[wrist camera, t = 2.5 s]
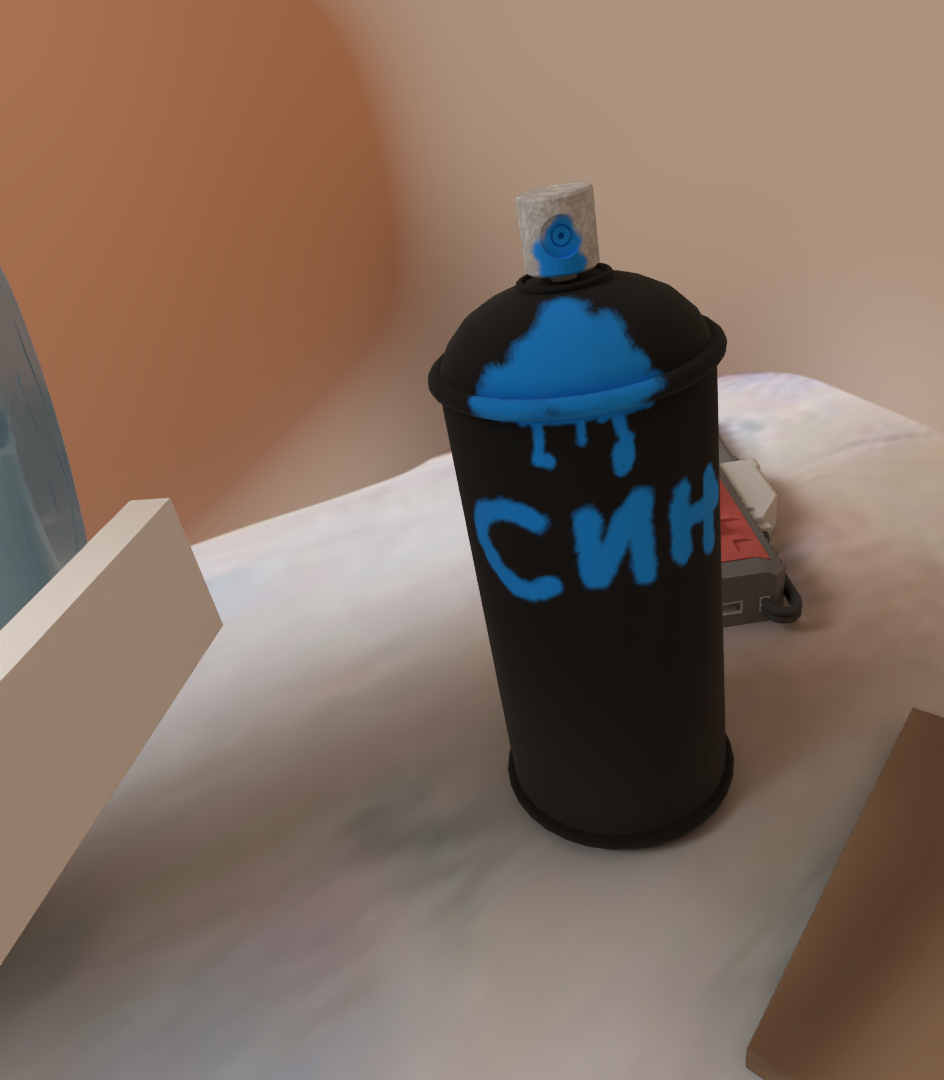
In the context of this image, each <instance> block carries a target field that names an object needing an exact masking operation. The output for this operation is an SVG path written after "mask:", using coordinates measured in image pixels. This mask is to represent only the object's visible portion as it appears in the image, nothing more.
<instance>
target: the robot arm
mask: <svg viewBox="0 0 944 1080" xmlns="http://www.w3.org/2000/svg"><path fill="white" fill-rule="evenodd" d="M222 626H223V624H222V621H221V619H220V616H219V614H218V612H217V609H216V607H215V605H214V602H213V600H212V597H211V595H210V593H209V590H208V588H207V585H206V583H205V581H204V578H203V576H202V573H201V571H200V569H199V566H198V564H197V561H196V559H195V557H194V554H193V552H192V550H191V547H190V545H189V542H188V540H187V538H186V535H185V533H184V530H183V528H182V526H181V523H180V521H179V518H178V516H177V514H176V511H175V509H174V506H173V504H172V502H171V499H170V498H162V499H148V500H133V501H129V502H128V503H127V504H126V506H124V508H122V509H121V510H120V511H119V512H118V513H117V514H116V516H114V517H113V518H112V519H111V520H110V522H108V523H107V524H106V525H105V526H104V527H103V528H102V529H101V530H100V531H99V532H98V533H97V534H96V535H95V536H94V537H93V539H91V540H90V542H88V543H87V538H86V533H85V528H84V523H83V519H82V514H81V510H80V506H79V501H78V497H77V493H76V489H75V485H74V481H73V476H72V472H71V468H70V464H69V460H68V456H67V453H66V449H65V445H64V442H63V438H62V435H61V431H60V427H59V424H58V421H57V417H56V414H55V410H54V407H53V404H52V400H51V397H50V394H49V391H48V388H47V385H46V381H45V378H44V375H43V372H42V369H41V366H40V363H39V360H38V357H37V354H36V352H35V349H34V346H33V343H32V340H31V338H30V335H29V332H28V330H27V327H26V324H25V321H24V319H23V316H22V314H21V311H20V309H19V306H18V304H17V301H16V299H15V297H14V294H13V292H12V290H11V288H10V285H9V283H8V281H7V278H6V276H5V275H4V273H3V271H2V269H1V268H0V965H1V964H2V962H3V961H4V959H5V958H6V956H7V955H8V953H9V952H10V950H11V949H12V947H13V946H14V944H15V943H16V941H17V939H18V938H19V936H20V935H21V933H22V932H23V930H24V929H25V927H26V926H27V924H28V923H29V921H30V920H31V918H32V917H33V915H34V913H35V912H36V910H37V909H38V907H39V906H40V904H41V903H42V901H43V900H44V898H45V897H46V895H47V894H48V892H49V891H50V889H51V887H52V886H53V884H54V883H55V881H56V880H57V878H58V877H59V875H60V874H61V872H62V871H63V869H64V868H65V866H66V865H67V863H68V861H69V860H70V858H71V857H72V855H73V854H74V852H75V851H76V849H77V848H78V846H79V845H80V843H81V842H82V840H83V839H84V837H85V835H86V834H87V832H88V831H89V829H90V828H91V826H92V825H93V823H94V822H95V820H96V819H97V817H98V816H99V814H100V813H101V811H102V809H103V808H104V806H105V805H106V803H107V802H108V800H109V799H110V797H111V796H112V794H113V793H114V791H115V790H116V788H117V787H118V785H119V783H120V782H121V780H122V779H123V777H124V776H125V774H126V773H127V771H128V770H129V768H130V767H131V765H132V764H133V762H134V761H135V759H136V757H137V756H138V754H139V753H140V751H141V750H142V748H143V747H144V745H145V744H146V742H147V741H148V739H149V738H150V736H151V735H152V733H153V731H154V730H155V728H156V727H157V725H158V724H159V722H160V721H161V719H162V718H163V716H164V715H165V713H166V712H167V710H168V709H169V707H170V705H171V704H172V702H173V701H174V699H175V698H176V696H177V695H178V693H179V692H180V690H181V689H182V687H183V686H184V684H185V683H186V681H187V679H188V678H189V676H190V675H191V673H192V672H193V670H194V669H195V667H196V666H197V664H198V663H199V661H200V660H201V658H202V656H203V655H204V653H205V652H206V650H207V649H208V647H209V646H210V644H211V643H212V641H213V640H214V638H215V637H216V635H217V634H218V632H219V630H220V629H221V627H222Z"/></svg>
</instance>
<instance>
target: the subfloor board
mask: <svg viewBox="0 0 944 1080" xmlns="http://www.w3.org/2000/svg"><path fill="white" fill-rule="evenodd" d="M746 1068H748V1069H749V1070H751V1071H752V1072H754V1073H755V1074H757V1075H758V1076H760V1077H762V1078H763V1079H765V1080H944V718H942V717H939V716H936V715H933V714H930V713H927V712H924V711H921V710H918V709H916V708H912V710H911V712H910V714H909V717H908V719H907V721H906V723H905V725H904V727H903V729H902V731H901V733H900V735H899V737H898V739H897V741H896V743H895V745H894V747H893V749H892V751H891V754H890V756H889V758H888V760H887V762H886V764H885V766H884V768H883V770H882V772H881V774H880V776H879V778H878V780H877V782H876V784H875V786H874V789H873V791H872V793H871V795H870V797H869V799H868V801H867V803H866V805H865V807H864V809H863V811H862V813H861V815H860V817H859V819H858V821H857V823H856V826H855V828H854V830H853V832H852V834H851V836H850V838H849V840H848V842H847V844H846V846H845V848H844V850H843V852H842V854H841V856H840V858H839V861H838V863H837V865H836V867H835V869H834V871H833V873H832V875H831V877H830V879H829V881H828V883H827V885H826V887H825V889H824V891H823V893H822V895H821V898H820V900H819V902H818V904H817V906H816V908H815V910H814V912H813V914H812V916H811V918H810V920H809V922H808V924H807V926H806V928H805V930H804V932H803V935H802V937H801V939H800V941H799V943H798V945H797V947H796V949H795V951H794V953H793V955H792V957H791V959H790V961H789V963H788V965H787V967H786V970H785V972H784V974H783V976H782V978H781V980H780V982H779V984H778V986H777V988H776V990H775V992H774V994H773V996H772V998H771V1000H770V1002H769V1004H768V1007H767V1009H766V1011H765V1013H764V1015H763V1017H762V1019H761V1021H760V1023H759V1025H758V1027H757V1029H756V1031H755V1033H754V1035H753V1037H752V1039H751V1042H750V1044H749V1046H748V1048H747V1056H746Z"/></svg>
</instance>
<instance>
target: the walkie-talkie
mask: <svg viewBox="0 0 944 1080" xmlns="http://www.w3.org/2000/svg"><path fill="white" fill-rule="evenodd" d="M719 473H720V518H721V562H722V606H723V627H728V626H735V625H741V624H748V623H754V622H761V621H767V620H772V621H773V622H777V623H792V622H795V621H797V619H798V618H799V617H800V616H801V613H802V611H801V608H802V600H801V596H800V595H799V593H798V592H797V590H796V589H795V587H794V585H793V584H792V582H791V581H790V579H789V578H788V576H787V574H786V573H785V571H786V567H785V566H783V565H782V561H781V559H779V558H778V557H777V553H776V552H774V551H773V547H772V546H771V535H772V531H773V530H774V528H775V526H776V522H777V505H778V495H777V494H776V492H775V491H774V489H773V488H772V487H771V485H770V484H769V482H768V481H767V480H766V478H765V477H764V475H763V474H762V473H761V471H760V466H759V464H758V463H757V461H756V460H755V459H753V458H752V459H746V460H738V458H736V457H735V456H732V454H731V453H730V452H729V450H728V449H727V447H726V446H725V444H724V443H723V441H722V440H721V438H720V437H719ZM784 595H785V597H786V599H787V600H788V602H789V604H790V605H791V607H783V600H784Z"/></svg>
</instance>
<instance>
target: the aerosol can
mask: <svg viewBox="0 0 944 1080" xmlns="http://www.w3.org/2000/svg"><path fill="white" fill-rule="evenodd" d="M516 203H517V210H518V218H519V225H520V232H521V239H522V246H523V247H522V248H523V255H524V261H525V269H526V273H527V274H526V275H524V276H523V277H521V278H520V279H519V280H518V281H517V282H516V286H513V287H511V288H509V289H507V290H505V291H503V292H501V293H499V294H497V295H495V296H493V297H492V298H490V299H489V300H487V301H486V302H485V303H484V304H482V305H481V306H479V307H478V308H477V309H476V310H474V311H473V312H472V313H471V314H469V315H468V316H467V317H466V318H465V319H464V321H463V322H462V324H461V325H460V326H459V328H458V329H457V331H456V332H455V334H454V335H453V337H452V338H451V340H450V341H449V343H448V345H447V348H446V350H445V353H443V354H442V355H441V356H440V358H439V359H438V360H437V361H436V362H435V363H434V364H433V366H432V368H431V370H430V372H429V375H428V385H429V390H430V392H431V394H432V395H433V396H434V397H435V398H436V400H437V401H438V402H439V403H441V404H442V406H443V411H444V416H445V421H446V426H447V431H448V436H449V441H450V445H451V451H452V456H453V461H454V466H455V471H456V476H457V481H458V486H459V491H460V496H461V501H462V506H463V511H464V516H465V521H466V526H467V531H468V536H469V541H470V546H471V551H472V556H473V561H474V566H475V571H476V576H477V581H478V586H479V591H480V596H481V601H482V606H483V611H484V616H485V621H486V626H487V631H488V636H489V641H490V646H491V651H492V656H493V660H494V665H495V670H496V675H497V680H498V685H499V690H500V695H501V700H502V705H503V710H504V715H505V720H506V725H507V730H508V735H509V740H510V745H511V749H510V753H509V765H508V771H509V776H510V782H511V786H512V788H513V790H514V792H515V795H516V797H517V799H518V801H519V802H520V804H521V805H522V806H523V807H524V809H525V810H526V811H527V812H528V814H529V815H530V816H531V817H532V818H533V819H534V820H536V821H537V822H538V823H539V824H540V825H542V826H543V827H544V828H545V829H547V830H549V831H550V832H552V833H554V834H556V835H558V836H560V837H562V838H564V839H566V840H569V841H572V842H575V843H578V844H582V845H585V846H588V847H595V848H603V849H610V850H621V849H639V848H645V847H650V846H655V845H660V844H663V843H666V842H668V841H671V840H673V839H676V838H679V837H681V836H683V835H685V834H687V833H688V832H690V831H691V830H693V829H695V828H696V827H698V826H700V825H701V824H702V823H703V822H704V821H705V820H707V819H708V818H709V817H710V816H711V815H712V814H713V813H714V812H715V811H716V810H717V808H718V807H719V805H720V804H721V802H722V801H723V799H724V798H725V796H726V794H727V792H728V789H729V786H730V783H731V780H732V777H733V765H734V757H733V753H732V749H731V744H730V741H729V739H728V737H727V735H726V733H725V695H724V651H723V606H722V562H721V518H720V473H719V429H718V385H717V365H718V364H719V363H720V361H721V360H722V358H723V357H724V355H725V352H726V345H727V339H726V336H725V334H724V332H723V330H722V328H721V327H720V326H719V325H718V324H716V323H715V322H713V321H712V320H711V319H709V318H708V317H706V316H703V315H701V313H700V312H699V310H698V308H697V307H696V306H695V305H693V304H692V303H691V302H690V301H689V300H687V299H686V298H685V297H684V296H683V295H681V294H680V293H679V292H678V291H677V290H675V289H674V288H673V287H671V286H670V285H668V284H665V283H663V282H660V281H657V280H654V279H651V278H649V277H646V276H643V275H640V274H637V273H631V272H624V271H617V270H612V268H611V267H610V266H609V265H607V264H604V263H598V262H599V261H600V260H599V250H598V238H597V227H596V216H595V205H594V194H593V186H592V185H591V184H589V183H585V182H575V183H565V184H558V185H552V186H547V187H543V188H538V189H534V190H531V191H527V192H525V193H522V194H520V195H519V196H518V198H517V199H516Z"/></svg>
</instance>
